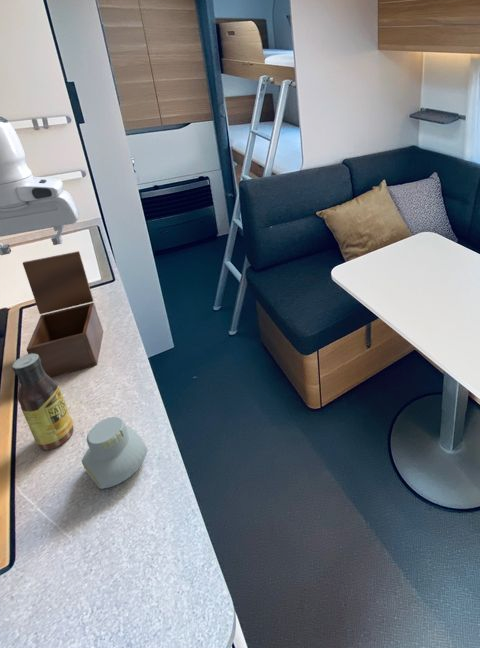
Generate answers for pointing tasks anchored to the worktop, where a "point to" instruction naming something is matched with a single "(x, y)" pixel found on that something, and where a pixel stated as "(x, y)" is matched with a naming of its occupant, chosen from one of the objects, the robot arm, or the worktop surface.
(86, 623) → the worktop surface
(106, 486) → the air freshener
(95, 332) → the bin
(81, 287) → the bin lid
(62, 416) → the sauce bottle
